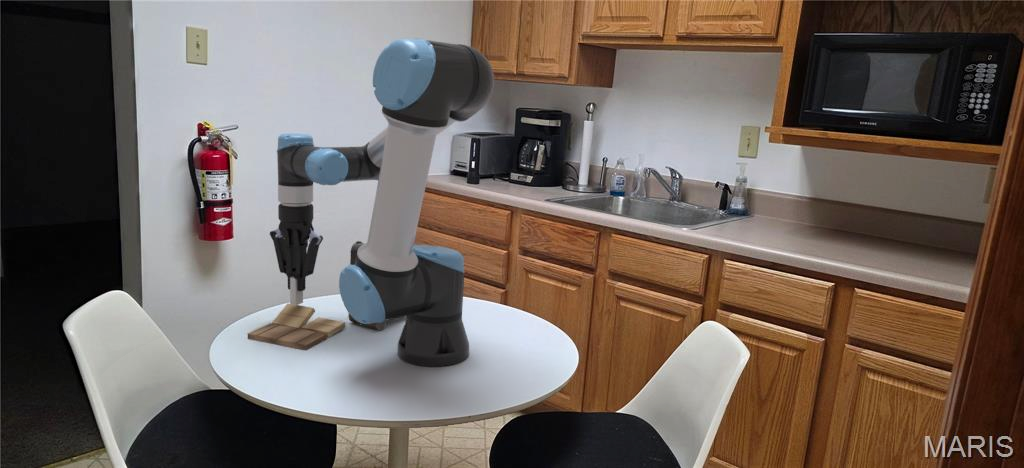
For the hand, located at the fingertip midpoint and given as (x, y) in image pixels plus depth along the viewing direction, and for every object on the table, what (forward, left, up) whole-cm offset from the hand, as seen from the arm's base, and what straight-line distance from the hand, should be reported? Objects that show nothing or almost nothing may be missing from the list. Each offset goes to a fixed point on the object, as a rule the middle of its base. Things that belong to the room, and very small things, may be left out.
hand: (296, 303), depth 155 cm
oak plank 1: (0, +1, -3) cm, 4 cm away
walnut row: (-4, +9, -5) cm, 11 cm away
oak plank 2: (-8, +1, -5) cm, 9 cm away
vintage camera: (-16, -12, -5) cm, 21 cm away
